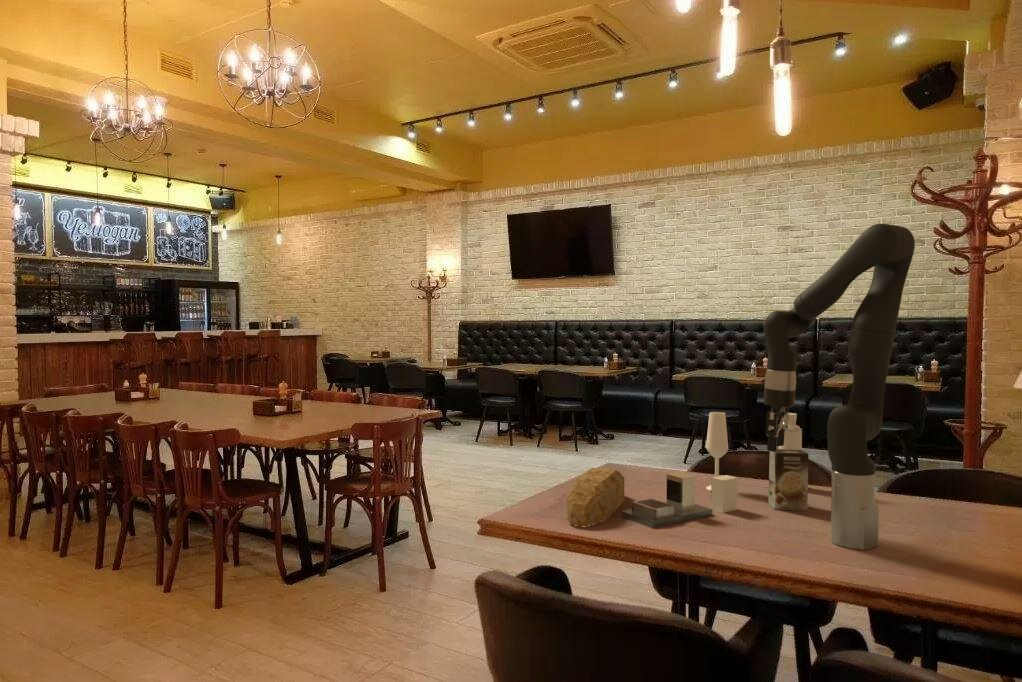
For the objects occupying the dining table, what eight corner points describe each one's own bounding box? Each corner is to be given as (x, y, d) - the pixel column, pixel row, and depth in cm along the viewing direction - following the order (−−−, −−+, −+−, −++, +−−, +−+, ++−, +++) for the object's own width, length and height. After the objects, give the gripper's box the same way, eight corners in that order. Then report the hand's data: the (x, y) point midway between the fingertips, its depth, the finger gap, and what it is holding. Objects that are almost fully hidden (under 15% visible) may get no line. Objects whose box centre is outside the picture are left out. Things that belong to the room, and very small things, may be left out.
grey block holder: (712, 514, 185) (712, 476, 185) (652, 527, 173) (652, 487, 173) (680, 504, 195) (680, 468, 195) (621, 516, 184) (621, 478, 183)
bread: (595, 492, 210) (595, 460, 210) (630, 496, 206) (630, 463, 205) (556, 525, 177) (556, 487, 177) (597, 530, 173) (597, 491, 173)
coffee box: (774, 509, 189) (774, 452, 189) (768, 503, 196) (768, 448, 195) (808, 510, 189) (809, 453, 188) (800, 504, 195) (801, 449, 194)
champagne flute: (701, 487, 215) (701, 412, 214) (719, 485, 217) (720, 411, 216) (713, 492, 209) (714, 414, 208) (732, 490, 211) (733, 413, 210)
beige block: (737, 509, 190) (737, 477, 190) (722, 512, 187) (722, 480, 187) (724, 505, 194) (724, 474, 194) (709, 508, 191) (709, 477, 191)
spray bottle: (806, 488, 213) (806, 409, 212) (787, 490, 211) (788, 410, 210) (791, 483, 219) (792, 407, 218) (774, 485, 217) (774, 407, 216)
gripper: (789, 391, 169) (784, 455, 170) (800, 386, 180) (796, 446, 182) (758, 388, 173) (753, 450, 174) (771, 383, 185) (767, 441, 186)
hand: (775, 448), depth 178 cm, fingers open, 8 cm apart
